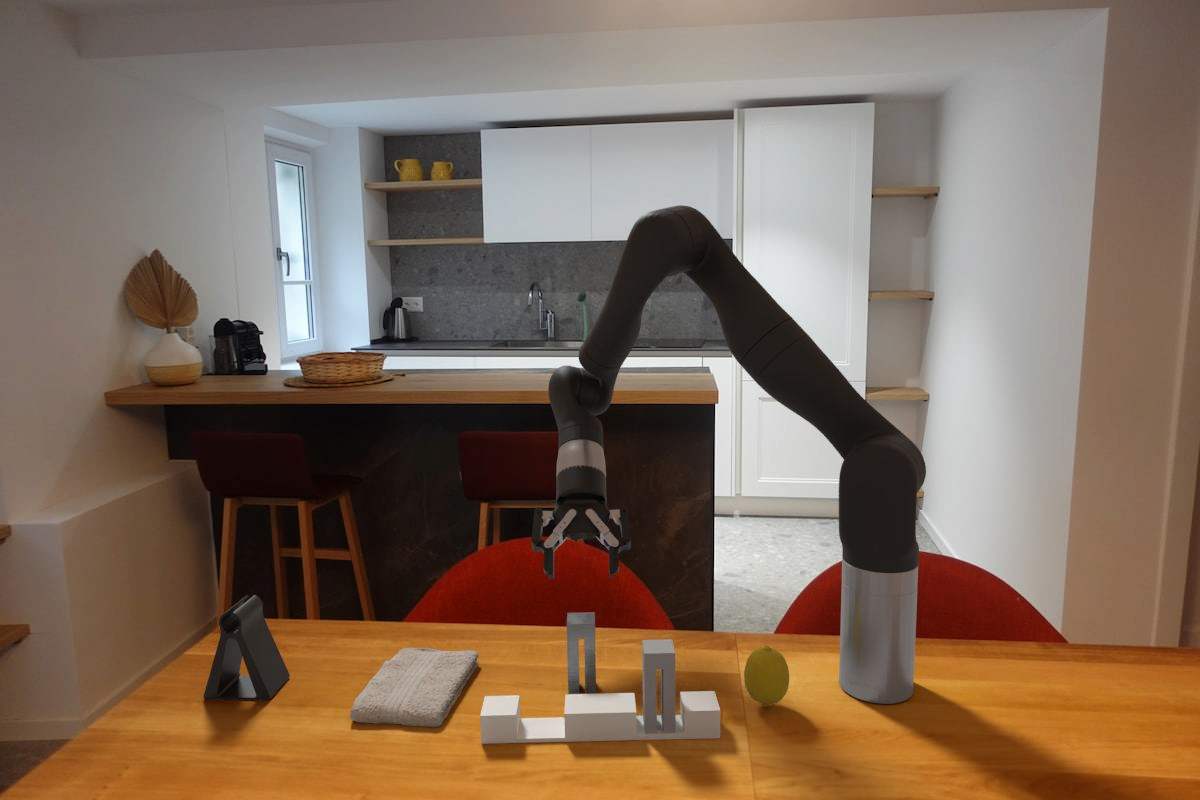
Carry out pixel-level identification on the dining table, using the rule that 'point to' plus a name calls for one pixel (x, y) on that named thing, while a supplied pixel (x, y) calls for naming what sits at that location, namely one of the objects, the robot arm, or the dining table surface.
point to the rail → (611, 711)
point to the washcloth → (415, 687)
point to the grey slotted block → (578, 629)
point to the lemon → (766, 676)
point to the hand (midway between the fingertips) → (581, 576)
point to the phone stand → (245, 656)
